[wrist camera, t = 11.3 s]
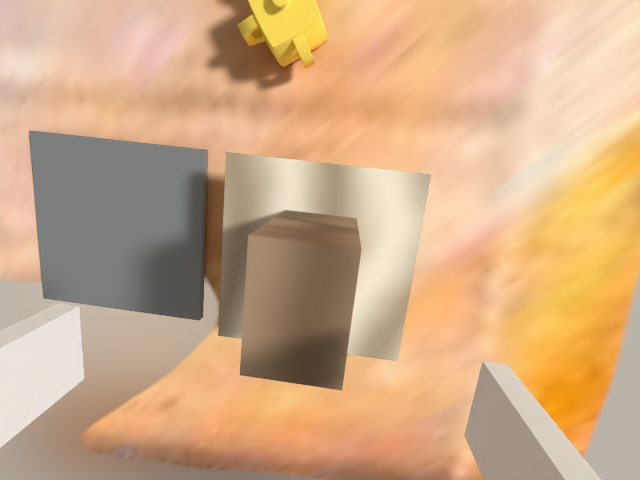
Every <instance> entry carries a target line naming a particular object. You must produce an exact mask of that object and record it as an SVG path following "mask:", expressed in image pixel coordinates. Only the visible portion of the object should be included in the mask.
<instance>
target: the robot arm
mask: <svg viewBox="0 0 640 480" xmlns="http://www.w3.org/2000/svg"><path fill="white" fill-rule="evenodd" d="M83 379H84V369H83V354H82V339H81V325H80V310H79V306H74V305H67V304H60V303H56V304H54V305H52V306H50V307H48V308H46V309H44V310H42V311H40V312H38V313H36V314H34V315H32V316H30V317H27V318H25V319H23V320H21V321H19V322H17V323H15V324H13V325H11V326H9V327H7V328H5V329H3V330H0V447H1V446H2V445H4V444H5V443H6V442H8V441H9V440H10V439H11V438H12V437H14V436H15V435H16V434H17V433H18V432H20V431H21V430H22V429H23V428H25V427H26V426H27V425H28V424H30V423H31V422H32V421H33V420H34V419H36V418H37V417H38V416H39V415H41V414H42V413H43V412H44V411H45V410H47V409H48V408H49V407H50V406H52V405H53V404H54V403H55V402H56V401H58V400H59V399H60V398H61V397H62V396H64V395H65V394H66V393H67V392H69V391H70V390H71V389H72V388H73V387H75V386H76V385H77V384H78V383H80V382H81V381H82V380H83ZM464 435H465V437H466V440H467V442H468V444H469V447H470V449H471V451H472V453H473V456H474V458H475V460H476V463H477V465H478V467H479V469H480V472H481V474H482V476H483V479H484V480H600V478H599V477H598V476H597V474H596V473H595V472H594V471H593V469H592V468H591V467H590V466H589V464H588V463H587V462H586V461H585V459H584V458H583V457H582V456H581V455H580V453H579V452H578V451H577V450H576V448H575V447H574V446H573V445H572V443H571V442H570V441H569V440H568V438H567V437H566V436H565V435H564V433H563V432H562V431H561V430H560V429H559V427H558V426H557V425H556V424H555V422H554V421H553V420H552V419H551V417H550V416H549V415H548V414H547V412H546V411H545V410H544V409H543V407H542V406H541V405H540V404H539V403H538V401H537V400H536V399H535V398H534V396H533V395H532V394H531V393H530V391H529V390H528V389H527V388H526V386H525V385H524V384H523V383H522V381H521V380H520V379H519V378H518V377H517V375H516V374H515V373H514V372H513V370H512V369H511V368H510V367H509V365H507V364H500V363H492V362H485V361H483V362H482V366H481V370H480V374H479V378H478V382H477V386H476V390H475V394H474V398H473V402H472V406H471V410H470V414H469V418H468V422H467V426H466V430H465V434H464Z"/></svg>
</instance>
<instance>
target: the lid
mask: <svg viewBox="0 0 640 480" xmlns="http://www.w3.org/2000/svg"><path fill="white" fill-rule="evenodd" d="M430 177H431V175H430V174H421V173H412V172H403V171H394V170H384V169H375V168H366V167H357V166H348V165H339V164H330V163H320V162H311V161H302V160H293V159H284V158H275V157H266V156H256V155H247V154H238V153H229V152H226V165H225V189H224V213H223V237H222V261H221V284H220V308H219V332H218V336H224V337H231V338H238V339H242V348H241V364H240V375H243V376H250V377H256V378H263V379H270V380H276V381H283V382H290V383H296V384H303V385H310V386H316V387H323V388H330V389H336V390H342V386H343V379H344V372H345V364H346V357H347V354H350V355H357V356H364V357H371V358H378V359H385V360H392V361H398V356H399V351H400V345H401V339H402V334H403V328H404V323H405V317H406V311H407V306H408V300H409V295H410V289H411V283H412V278H413V272H414V267H415V261H416V255H417V250H418V244H419V239H420V233H421V227H422V222H423V216H424V211H425V205H426V199H427V194H428V188H429V183H430Z"/></svg>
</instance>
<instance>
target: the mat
mask: <svg viewBox="0 0 640 480" xmlns="http://www.w3.org/2000/svg"><path fill="white" fill-rule="evenodd" d="M29 135H30V146H31V158H32V170H33V182H34V193H35V205H36V217H37V228H38V240H39V252H40V263H41V275H42V287H43V298H45V299H52V300H60V301H66V302H73V303H80V304H88V305H94V306H102V307H109V308H116V309H124V310H130V311H137V312H144V313H152V314H159V315H165V316H172V317H180V318H187V319H194V320H200V319H201V318H202V317H203V298H204V296H203V295H204V265H205V232H206V199H207V166H208V150H202V149H193V148H184V147H175V146H166V145H157V144H148V143H138V142H129V141H120V140H111V139H102V138H93V137H84V136H74V135H65V134H56V133H47V132H38V131H29Z"/></svg>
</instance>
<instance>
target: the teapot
mask: <svg viewBox="0 0 640 480" xmlns="http://www.w3.org/2000/svg"><path fill="white" fill-rule="evenodd" d="M248 3H249V5H250V8H251V10H252V13H253V14H252V15H251V16H249V17H248V18H246V19H245V20H243V21H242V22H240V23H239V24H237V26H238V28H239V30H240V32H241V34H242V36H243V38H244V39H245V41H246V42H247V44H248V45H249V46H252V45H255V44H258V43H261V42H264V41H266V43H267V44H268V46H269V48H270V50H271V51H272V53H273V55H274V57H275V58H276V60H277V61H278V63H279V64H280V65H281V66H283V67H284V66H287V65H289V64H291V63H292V62H294V61H296V60H298V59H300V58H301V60H302V62H303V64H304V66H305V69H306V68H308V67H310V66H312V65H314V64H315V62H314V59H313V56H312V54H311V52H312V51H313V50H315V49H316V48H318V47H320V46H321V45H323V44H324V43H326V41H327V33H326V29H325V26H324V23H323V20H322V17H321V15H320V12H319V9H318V7H317V4H316V2H315V0H248Z"/></svg>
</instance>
